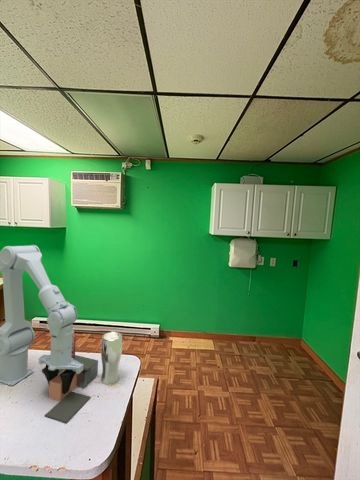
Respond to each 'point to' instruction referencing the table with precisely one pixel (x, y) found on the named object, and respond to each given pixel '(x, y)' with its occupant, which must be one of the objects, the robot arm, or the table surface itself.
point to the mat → (67, 407)
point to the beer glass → (111, 356)
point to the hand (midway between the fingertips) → (59, 390)
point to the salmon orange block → (60, 387)
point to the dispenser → (85, 370)
